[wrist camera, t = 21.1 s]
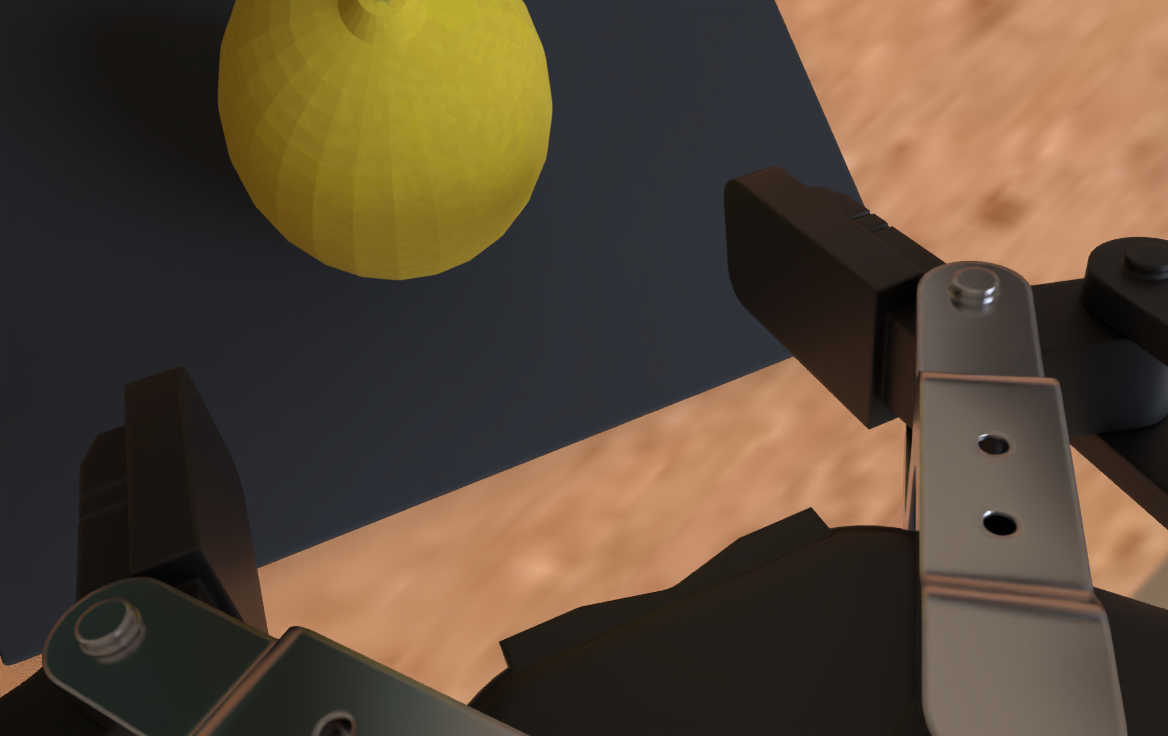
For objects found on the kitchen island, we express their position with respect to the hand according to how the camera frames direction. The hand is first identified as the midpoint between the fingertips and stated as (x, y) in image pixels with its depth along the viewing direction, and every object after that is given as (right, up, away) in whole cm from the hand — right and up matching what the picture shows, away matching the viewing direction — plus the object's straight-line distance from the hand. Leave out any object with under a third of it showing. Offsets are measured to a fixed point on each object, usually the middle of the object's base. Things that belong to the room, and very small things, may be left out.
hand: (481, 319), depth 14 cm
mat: (-3, +3, +8) cm, 9 cm away
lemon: (-3, +3, +7) cm, 8 cm away
